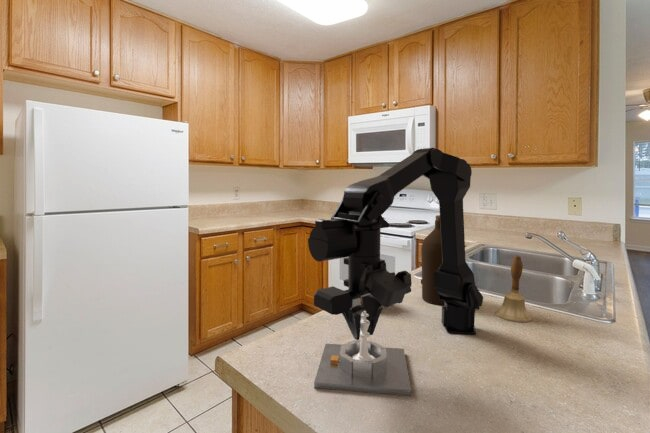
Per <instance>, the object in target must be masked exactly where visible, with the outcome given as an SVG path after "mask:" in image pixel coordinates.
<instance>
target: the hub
mask: <svg viewBox="0 0 650 433" xmlns="http://www.w3.org/2000/svg"><path fill="white" fill-rule="evenodd" d="M360 345H361V339H359V340H356V339H353V340H351V341H349V342H346V343H343V344H339V343H338V344H337V343H325V345H324V349H323V352H322V354H321V359H320V362H319V364H318V369H317V372H316V375H315V379H314V385H313V388H315V389H324V390H337V391H348V392H349V391H350V392H360V393H372V394H381V395H382V394H385V395H396V396H407V397H411V396H412V388H411V383H410V382H411V381H410V377H409V372H408V366H407V360H406V354H405V350H404V349H405V348H400V347H399V348H397V347H385V346H383V345H382V344H379V343H378V342H375V341H372V340H367V347H368V353H369V354H370V355H372V356H374V357H375V359H373V360H371V361H367V360H355V359H353V358H352V356H353V355H355V354H358V353H359V352H360Z"/></svg>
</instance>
